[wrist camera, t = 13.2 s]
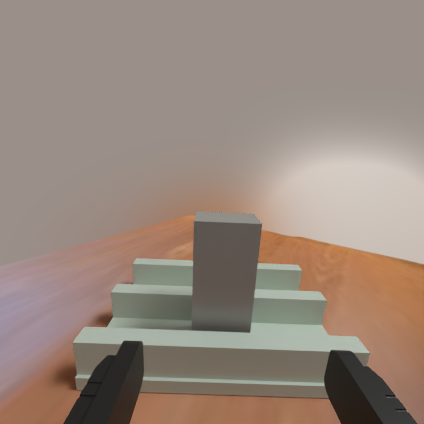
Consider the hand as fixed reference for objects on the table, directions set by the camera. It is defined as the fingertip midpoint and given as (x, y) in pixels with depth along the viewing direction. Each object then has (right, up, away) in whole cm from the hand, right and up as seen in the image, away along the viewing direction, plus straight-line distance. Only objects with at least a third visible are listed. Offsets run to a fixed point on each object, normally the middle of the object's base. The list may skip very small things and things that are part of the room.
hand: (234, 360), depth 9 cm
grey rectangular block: (0, -6, +11) cm, 12 cm away
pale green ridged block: (0, -6, +14) cm, 15 cm away
